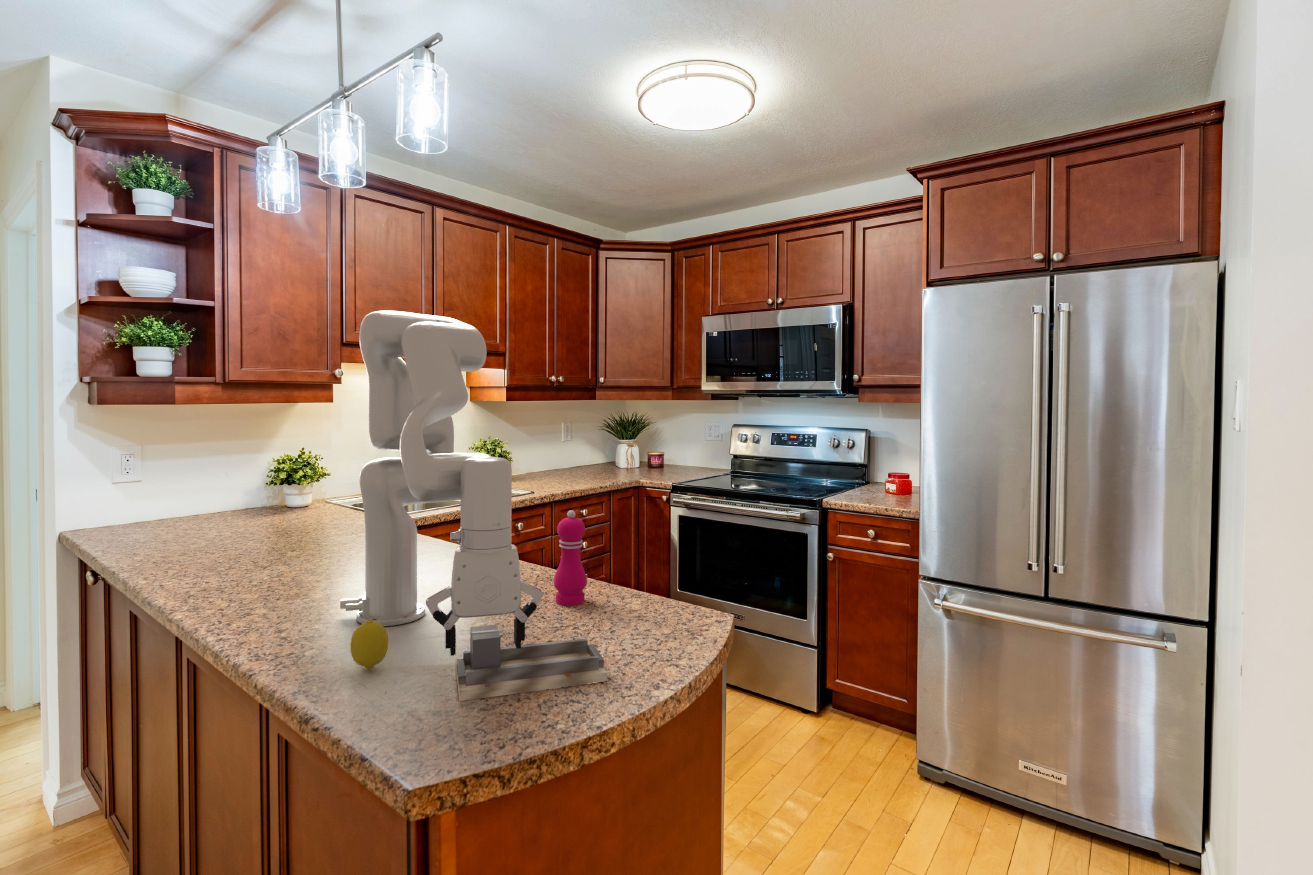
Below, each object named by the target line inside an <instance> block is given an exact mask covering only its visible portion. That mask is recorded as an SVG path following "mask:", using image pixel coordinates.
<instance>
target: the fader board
mask: <svg viewBox="0 0 1313 875" xmlns="http://www.w3.org/2000/svg"><path fill="white" fill-rule="evenodd" d="M588 643H589V640H588V638H581V639H580V638H579V639H571V640H562V641H561V640H559V641H552V642H541V643H532V644H523V645H522V644H521V648H519V649H517V648H516V646H515V645H512V646H502V647H500V667H493V668H484V669H475V670H471V667H470V650H465V651H462V658H457V659H456V661H455V671H456V672H455V673H456V680H457V681H456V684H457V691H458V692H457V693H458V700H459V702H462V701H463V702H464V701H471V700H479V699H484V698H493V697H500V696H501V697H502V696H507V695H509V696H510V695H516V694H524V693H531V692H539V691H547V690H546V689H549V690H555V689H561V687H564V688H569V687H568V686H572V687H576V686H575V685H579V686H583V685H582V684H587V685H589V684H588V683H593V682H601V681H606V680H607V681H608V671H607V669H606V668H605V659H604V657H603V656H602V654H601V653H600V652H599V650H598V649H597V648H596V646H595V644H588Z"/></svg>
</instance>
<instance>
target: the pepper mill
mask: <svg viewBox="0 0 1313 875" xmlns="http://www.w3.org/2000/svg"><path fill="white" fill-rule="evenodd" d="M566 515H567V517H565V518H563V519H562V520H560V521H559V523H557V524H558V525H557V527H556V528H557V530H556V531H557V535H558V536H559V538H560V539H559V540H558V542H559V547H560V548H561V552H560V553H561V554H560V555H561V556H560V562H559V565H558V567H557V569H556V571H555V574H554V577H553V587H554V588H555V589H556V592H555V603H556V604H557V605H561V606H564V607H565V606H567V607H568V606H569V607H571V606H578V605H579V606H580V605H582V604H584V602H585V601H586V600H585V597H586V596H585V595H586V594H585V592H584V591H583V590H584V589H585V588H586V587H587V584H588V578H587V577H588V576H587V574H586V571H585V569H584V565H583V563H582V559H581V549H582V547H583V545H584V544H583V542H584V541H583V538H582V537H583V536H585V534H586V533H585V532H586V527H585V523H584V521H583V520H582V519H580V518H578V517H576V515H577V514H576V511H574V510H573V509H572V510H568V511H567V513H566Z"/></svg>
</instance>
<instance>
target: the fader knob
mask: <svg viewBox="0 0 1313 875" xmlns="http://www.w3.org/2000/svg"><path fill="white" fill-rule="evenodd" d="M469 629H470V630H469V633H470V636H469V637H470V640H469V642H470V643H469V647H470V648H469V651H470V667H471V670H475V669H484V668H493V667H500V648H501V635H500V634H501V633H500V631H499V628H498V624H490V625H489V624H488V625H476V626H470V628H469Z"/></svg>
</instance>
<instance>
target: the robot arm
mask: <svg viewBox="0 0 1313 875" xmlns="http://www.w3.org/2000/svg"><path fill="white" fill-rule="evenodd" d="M358 338H359V347H360V352H361V355H362V360H363V362H364V365H365V370H366V373H367V379H368V435H369V436H368V437H369V440H370V442H371V443H370V444H371V445H372V446H373V447H374V448H376V449H378V450H380V451H399V455H400V457H399V456H398V457H397V456H394V457H393V456H392V457H382V458H381V457H380V458H376V459H373V460H371V461H368V462H367V463H366V464H364V466H363V467H362V469H361V470H360V474H359V488H360V494H361V497H362V498H361V499H362V504H363V514H364V541H365V542H364V547H365V548H364V557H365V558H364V560H365V562H364V566H365V568H364V569H365V571H364V576H365V578H364V580H365V581H364V582H365V584H364V585H365V586H364V587H365V588H364V589H365V590H364V594H363V595H359V596H358V598H340V602H339V604H340V605H339V609H340V610H345V612H350V611H357V610H358V611H357V613H356V621H357V622H358V623H360V625H361V624H363V623H365V622H367V621H368V620H372V621H374V622H377V623H380V624H381V625H382V626H383V627H390V626H397V625H404V624H409V623H411V622H414V621H417V620H418V619H421V618H422V617H424V615H425V614H426V607H427V609H428V610H429V613H430V614H431V615H432V618H433V619H434V620H435V621H436V622H437V623H439V625H441V626H442V627H443V629H445V634H444V635H445V638H444V640H445V642H444V643H445V650H448V649H449V651H450V652H449V653H450V657H453V656H455V655H456V654H457V651H456V650H457V644H456V641H457V640H456V639H457V636H456V635H457V629H456V623H457V622H458V621H459V619H460V618H462V619H467V618H479V617H480V618H481V617H490V616H501V615H508V614H509V615H511V614H513V616H515V617H514V618H513V644H514V646H516V648H517V649H519V648H521V645H522V642H523V641H525V640H526V622H528V619H529V617H530V616H531V615H532V614H533V613H534V612H535V611H536V610H537V608H538V605H539V603H540V602H541V600H542V597H543V596H544V592H543V591H542V589H541V588H538V587H537V586H534V585H532V584H529V583H526V581H522V580H521V568H520V567H521V566H520V558H519V553H518V547H517V546H516V545H515V544H514V543H513V544H512V512H513V511H512V510H513V509H512V508H513V506H512V501H513V500H512V497H513V494H512V492H513V491H512V490H513V489H512V488H513V486H512V485H513V482H512V481H513V475H512V474H513V469H512V468H513V467H512V465H511V462H510V461H509V459H507V458H504V457H499V456H492V455H491V454H488V453H484V452H455V426H454V421H453V418H452V416H454V415H455V414H457V413H459V412H460V411H461V410H463V408H464V407H465V406H466V405H467V403H468V400H469V393H468V389H467V385H466V382H465V379H464V376H463V373H465V372H466V373H467V372H468V373H469V372H470V373H475V372H478V371H480V369H482V368H483V367H484V365H485V363H486V360H487V353H488V352H487V345H486V341H485V339H484V336H483V334H482V333H481V332H480V331H479V330H478V328H476V327H475V326H473V325H471V324H468V323H466V322H463V321H461V320H458V319H455V318H452V317H448V316H441V315H434V314H433V315H432V314H424V313H415V312H409V311H399V310H377V311H371V312H370V313H368V314H366V315H365V316H364V317H363V319H362V321H361V323H360V328H359V337H358ZM403 358H404V360H403ZM462 372H463V373H462ZM450 501H453V502H454V501H460V527H459V529H457V530H455V531H453V532H450V536H449V537H450V538H449V539H450V542H455V543H458V544H459V545H460V546H458V547H456V548H455V552H454V556H453V563H452V572H451V584H450V585H448V586H447V587H445V588H443V589H441V590H440V591H438V592H436V593H434V594H432V595H431V596H429V597H427V598H426V599H425V605H426V607H425V605H424V604H422V603H421V602H420V603H419V602H418V527H417V524H416V521H415V520H414V519H413V518H412V516H411V515H410V514H409V513H408V512H407V510H406V509H405V507H406V506H411V505H417V504H418V505H419V504H420V505H421V504H430V503H431V504H433V503H440V502H450ZM522 593H525V594H526V595H529V596H531V597H530V599H529V601H527V603H526V604H525V605H524V606H523V607H522V606H521V605H522ZM449 598H450V603H451V606H450V607H451V609H450V610H449V612H448V613H447V614H446V613H445V612H444V611H442V610H441V608H440V607H439V605H440V603H441V602H444V601H445V600H447V599H449Z"/></svg>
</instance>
